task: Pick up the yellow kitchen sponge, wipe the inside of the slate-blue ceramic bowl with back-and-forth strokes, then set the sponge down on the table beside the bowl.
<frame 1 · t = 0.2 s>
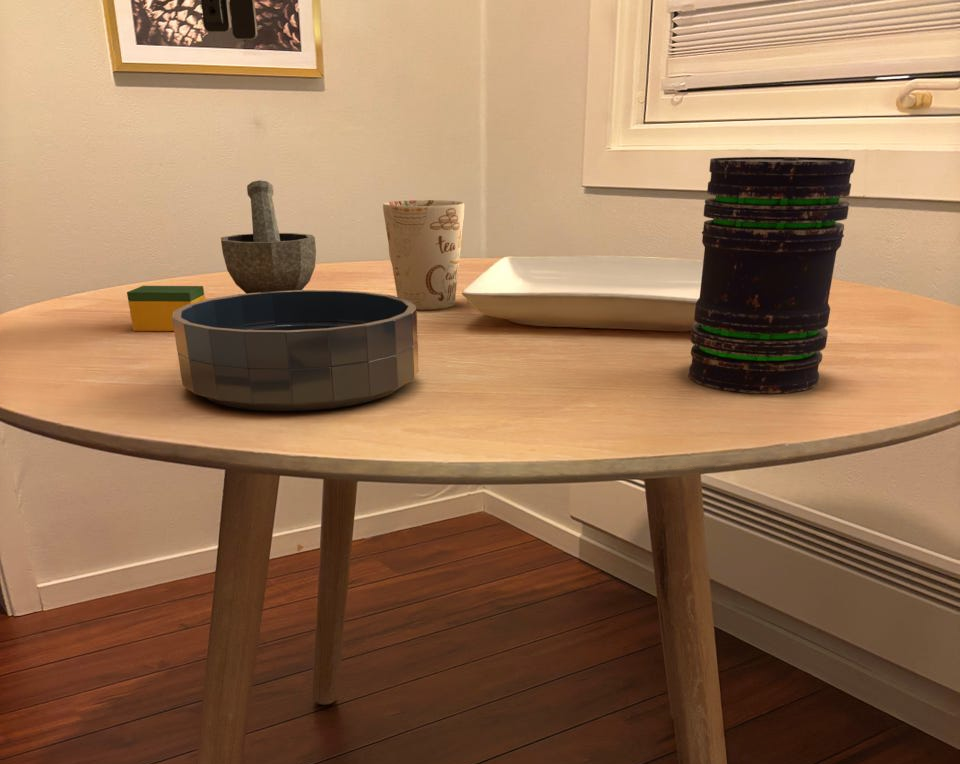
hand: (232, 35, 86), 24 cm above the table, tool pointing down, fingers open, 8 cm apart
mortar and pestle: (274, 308, 101), on the table
bowl: (303, 385, 71), on the table
square plate: (612, 312, 98), on the table
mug: (416, 304, 103), on the table
sponge: (171, 327, 91), on the table
storage jar: (752, 380, 73), on the table
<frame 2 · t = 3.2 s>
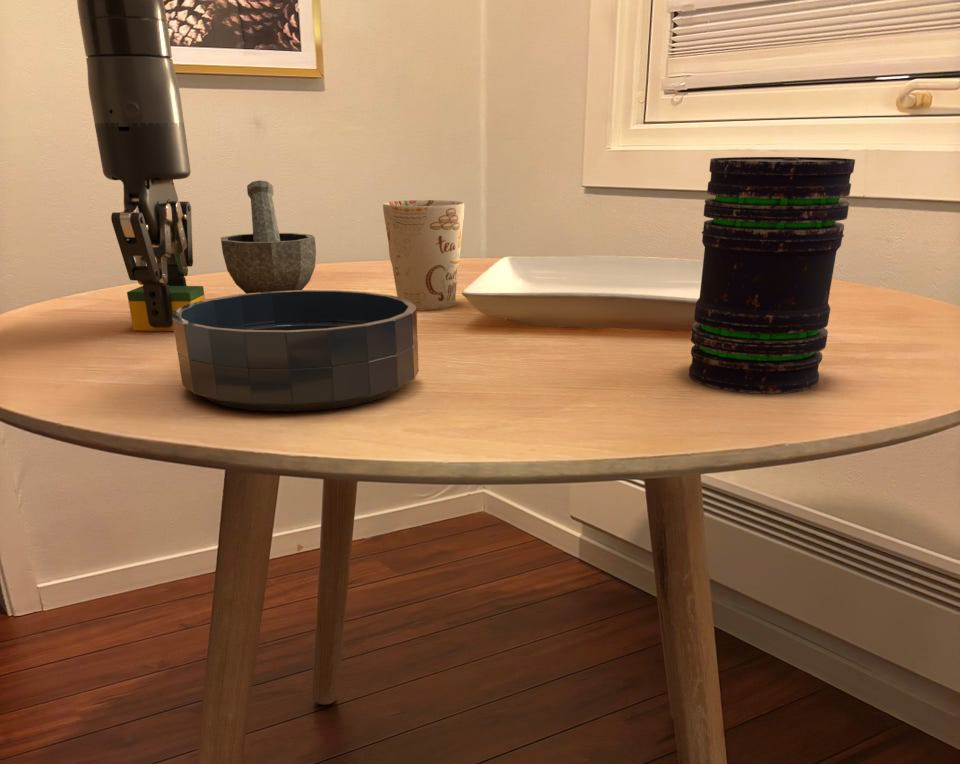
hand: (170, 321, 91), 1 cm above the table, tool pointing down, fingers closed on sponge, 4 cm apart
sponge: (171, 327, 91), on the table, touching gripper
everything else where it was.
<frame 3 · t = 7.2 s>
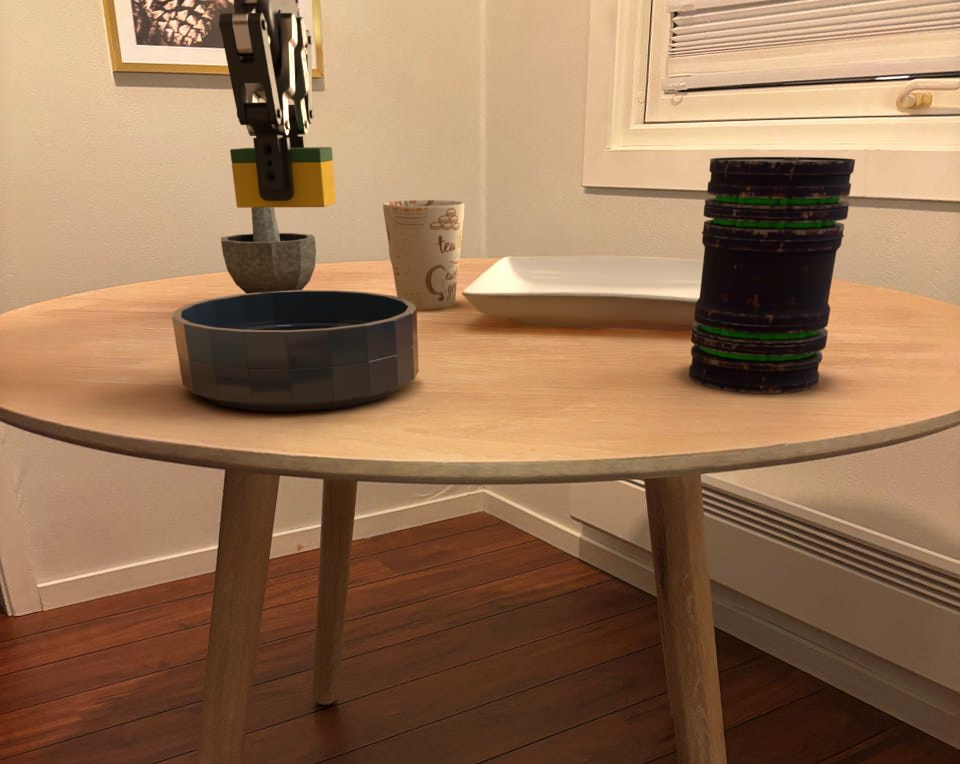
hand: (285, 196, 65), 13 cm above the table, tool pointing down, fingers closed on sponge, 4 cm apart
sponge: (287, 205, 65), point 12 cm above the table, touching gripper
everything else where it was.
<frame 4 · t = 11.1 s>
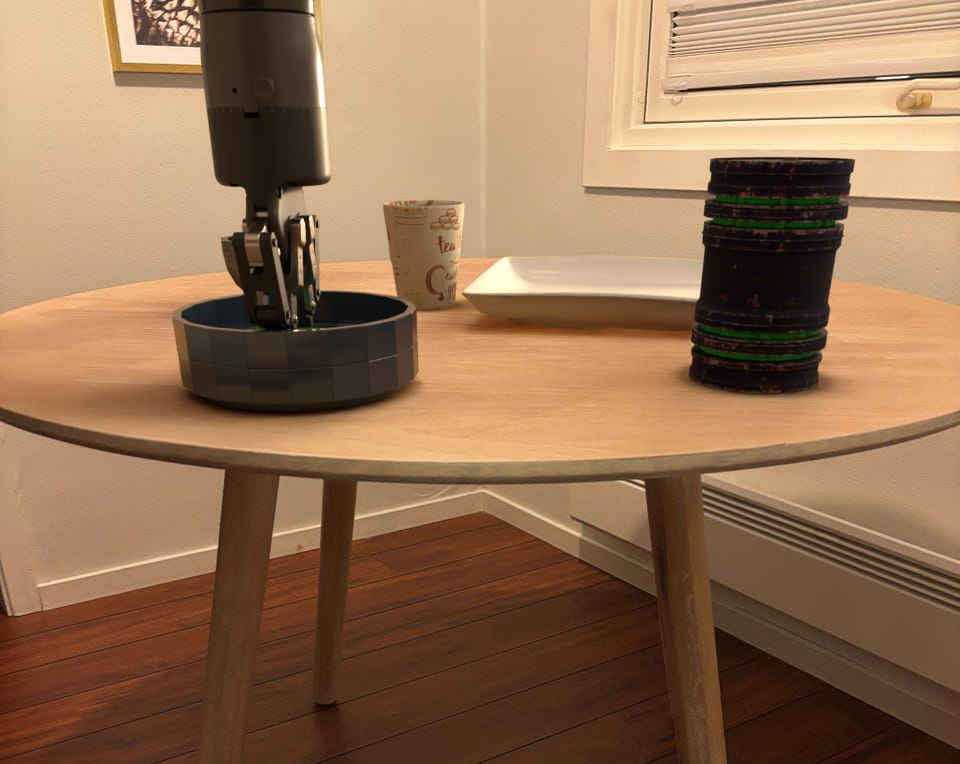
hand: (293, 374, 68), 1 cm above the table, tool pointing down, fingers closed on sponge, 4 cm apart
sponge: (295, 382, 68), point 1 cm above the table, touching gripper
everything else where it was.
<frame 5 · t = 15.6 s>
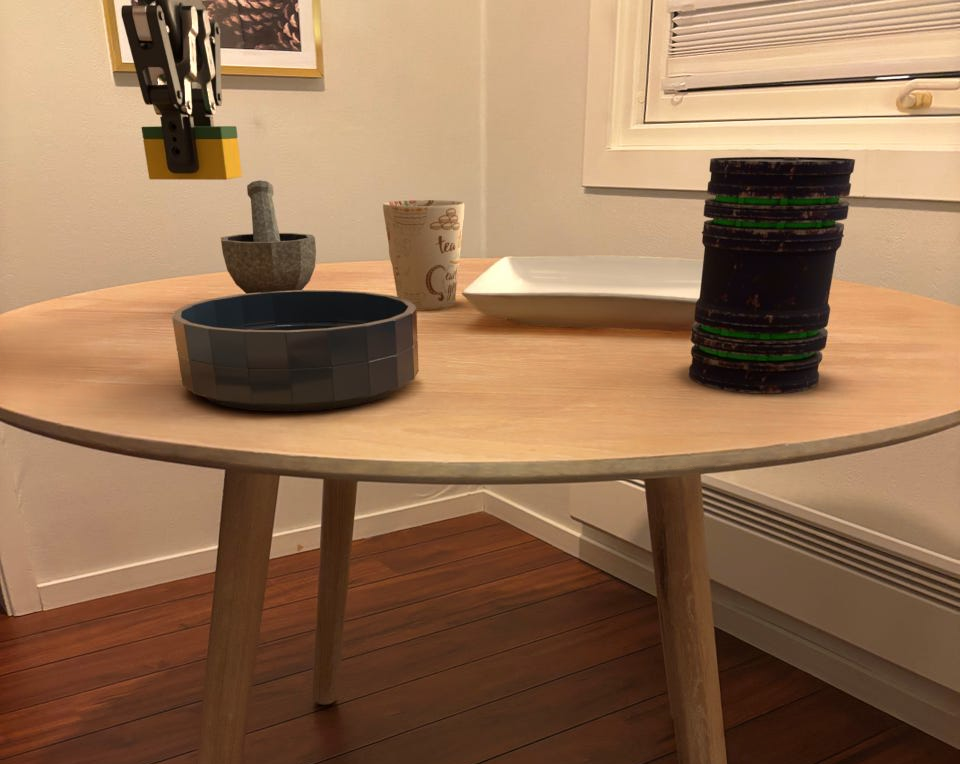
hand: (194, 170, 73), 14 cm above the table, tool pointing down, fingers closed on sponge, 4 cm apart
sponge: (196, 178, 73), point 14 cm above the table, touching gripper
everything else where it was.
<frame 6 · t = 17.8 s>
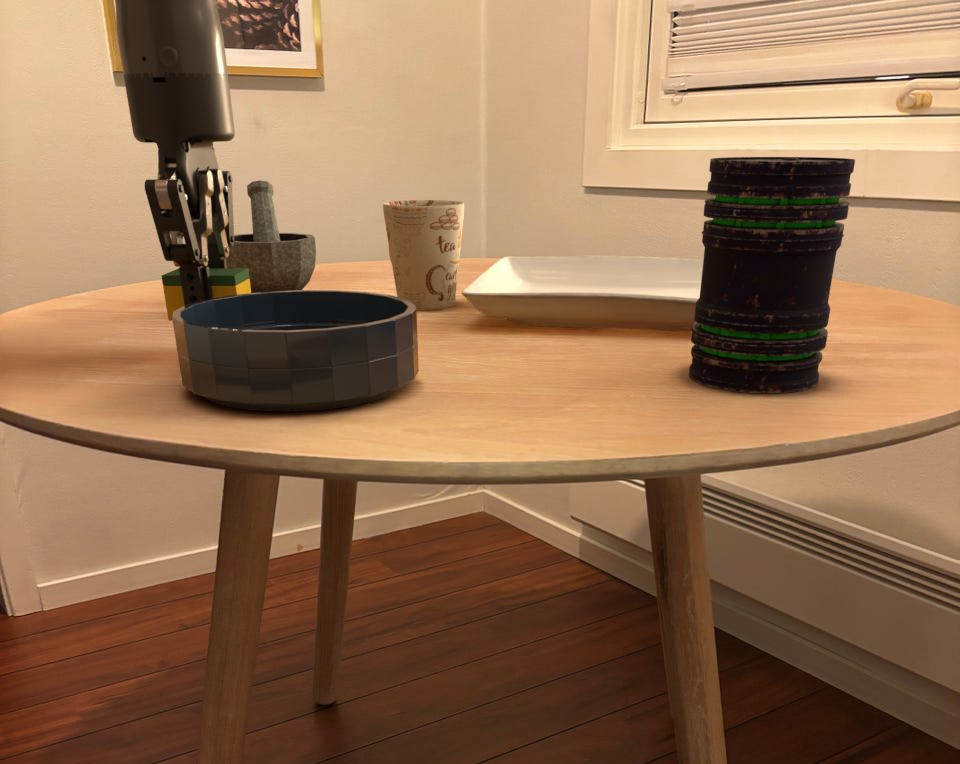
hand: (209, 309, 78), 4 cm above the table, tool pointing down, fingers closed on sponge, 4 cm apart
sponge: (211, 316, 79), point 3 cm above the table, touching gripper
everything else where it was.
when the fingers open (0 cm above the table, at t = 19.0 s): sponge stays where it is, on the table.
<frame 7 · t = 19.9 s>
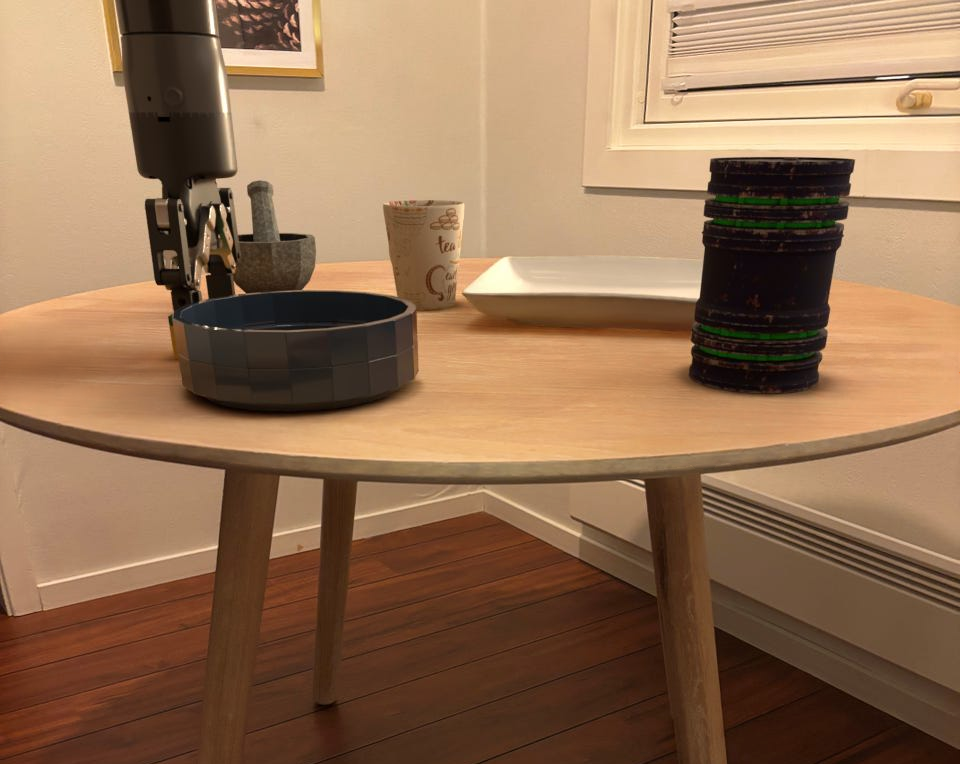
hand: (209, 329, 79), 2 cm above the table, tool pointing down, fingers open, 8 cm apart
sponge: (216, 354, 80), on the table
everything else where it was.
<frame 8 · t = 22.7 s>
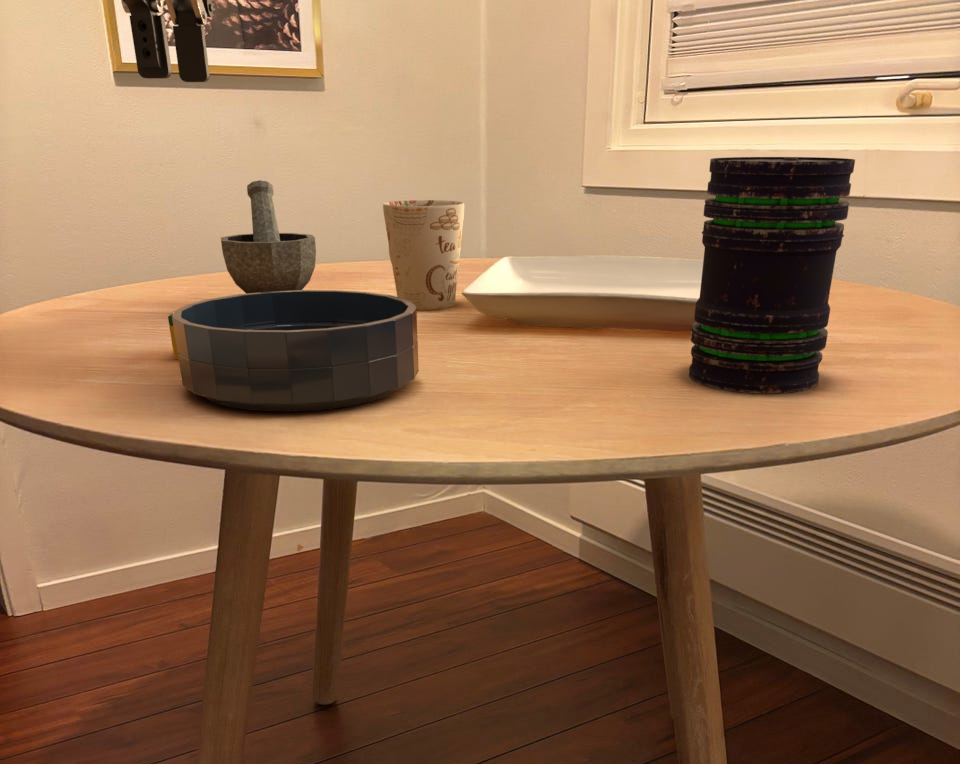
hand: (176, 80, 71), 20 cm above the table, tool pointing down, fingers open, 8 cm apart
nothing on the table moved.
at the end: sponge inside the target area on the table beside the bowl (0.5 cm from its centre), on the table; sponge tilted 0°; the gripper is holding nothing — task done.
